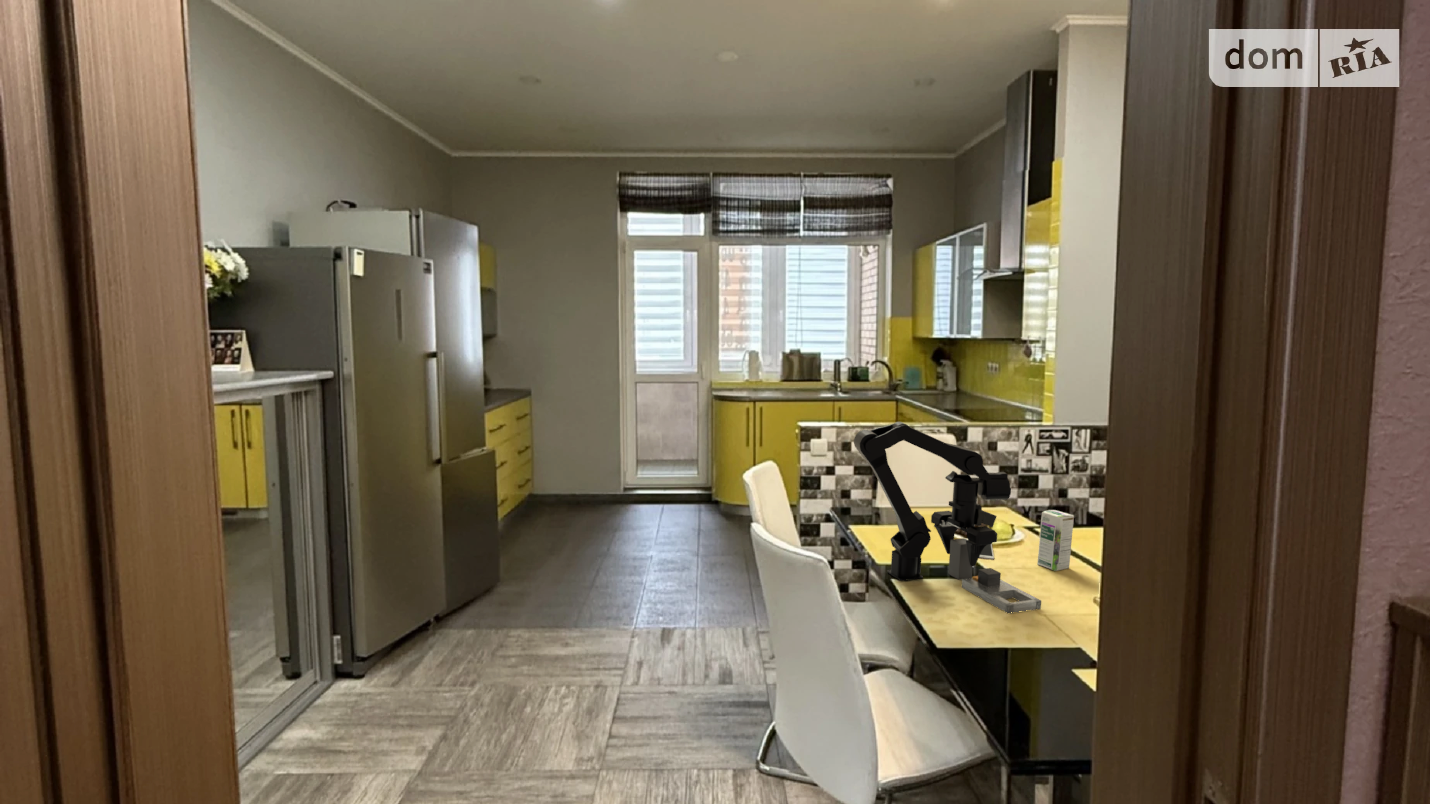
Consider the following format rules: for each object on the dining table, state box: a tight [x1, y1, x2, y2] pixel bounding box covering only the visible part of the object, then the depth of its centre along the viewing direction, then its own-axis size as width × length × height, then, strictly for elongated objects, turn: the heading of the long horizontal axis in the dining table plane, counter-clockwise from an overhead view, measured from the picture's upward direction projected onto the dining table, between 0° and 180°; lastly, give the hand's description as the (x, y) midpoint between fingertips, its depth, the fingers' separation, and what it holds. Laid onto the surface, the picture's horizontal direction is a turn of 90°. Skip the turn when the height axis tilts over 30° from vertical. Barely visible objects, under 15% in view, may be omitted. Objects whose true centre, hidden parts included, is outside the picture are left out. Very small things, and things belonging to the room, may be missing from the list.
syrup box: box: [1037, 509, 1075, 572], centre depth 192 cm, size 6×6×14 cm
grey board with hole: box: [961, 567, 1042, 614], centre depth 170 cm, size 9×16×5 cm, turn 19°
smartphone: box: [965, 538, 995, 561], centre depth 205 cm, size 7×15×1 cm, turn 162°
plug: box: [947, 537, 974, 580], centre depth 184 cm, size 4×4×9 cm
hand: (960, 559), depth 184 cm, fingers open, 9 cm apart
